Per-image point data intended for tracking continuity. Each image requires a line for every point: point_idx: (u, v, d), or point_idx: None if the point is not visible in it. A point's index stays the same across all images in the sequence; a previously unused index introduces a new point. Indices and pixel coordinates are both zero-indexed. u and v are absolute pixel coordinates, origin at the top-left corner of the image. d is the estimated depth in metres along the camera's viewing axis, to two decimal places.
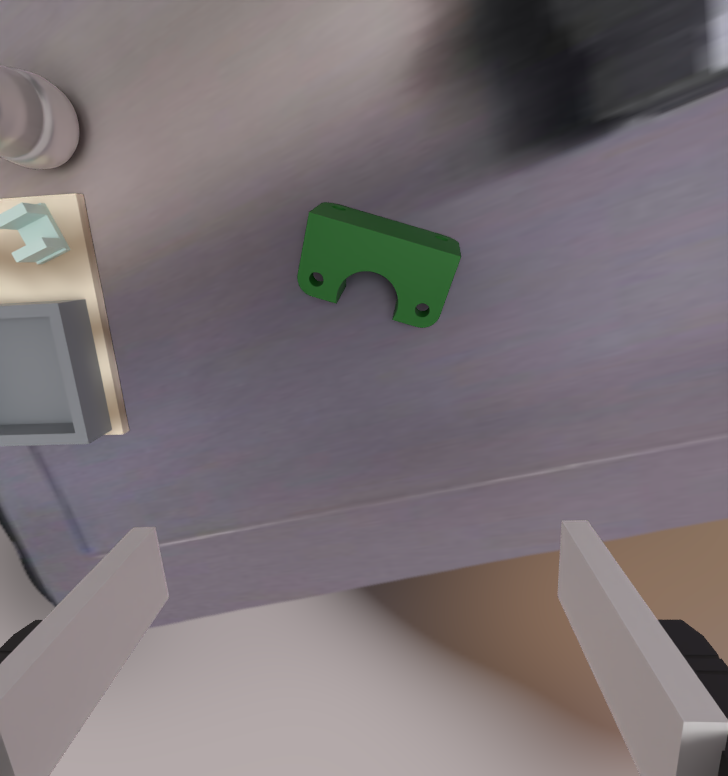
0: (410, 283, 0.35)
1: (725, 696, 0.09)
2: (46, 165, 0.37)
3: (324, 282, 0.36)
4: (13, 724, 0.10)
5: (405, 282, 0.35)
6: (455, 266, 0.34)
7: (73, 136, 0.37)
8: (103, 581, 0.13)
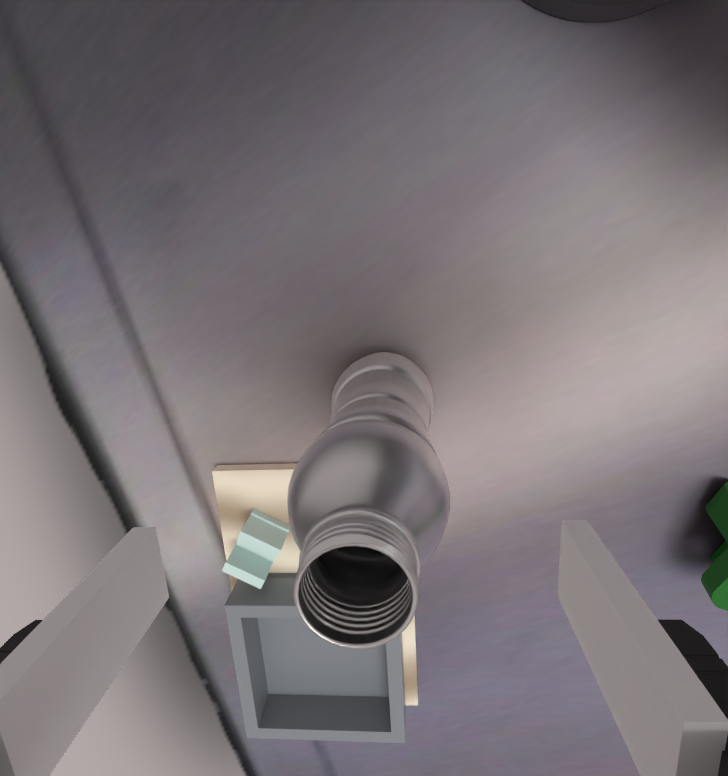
0: None
1: (725, 696, 0.09)
2: None
3: None
4: (13, 724, 0.10)
5: None
6: None
7: None
8: (103, 581, 0.13)
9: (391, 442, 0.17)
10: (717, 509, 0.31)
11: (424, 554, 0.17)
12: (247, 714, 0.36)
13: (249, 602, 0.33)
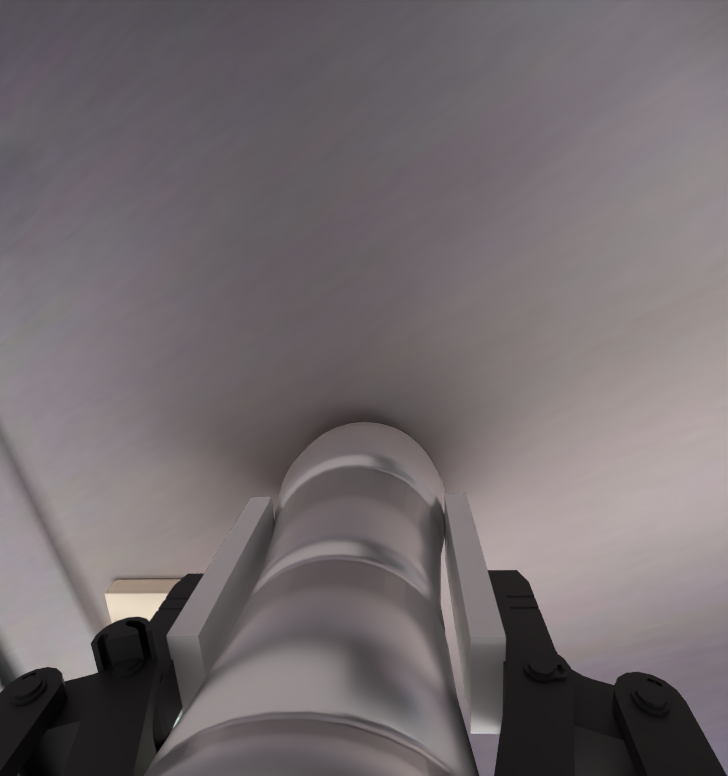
0: None
1: (525, 625, 0.11)
2: None
3: None
4: (207, 652, 0.11)
5: None
6: None
7: None
8: (245, 540, 0.15)
9: None
10: None
11: None
12: None
13: None
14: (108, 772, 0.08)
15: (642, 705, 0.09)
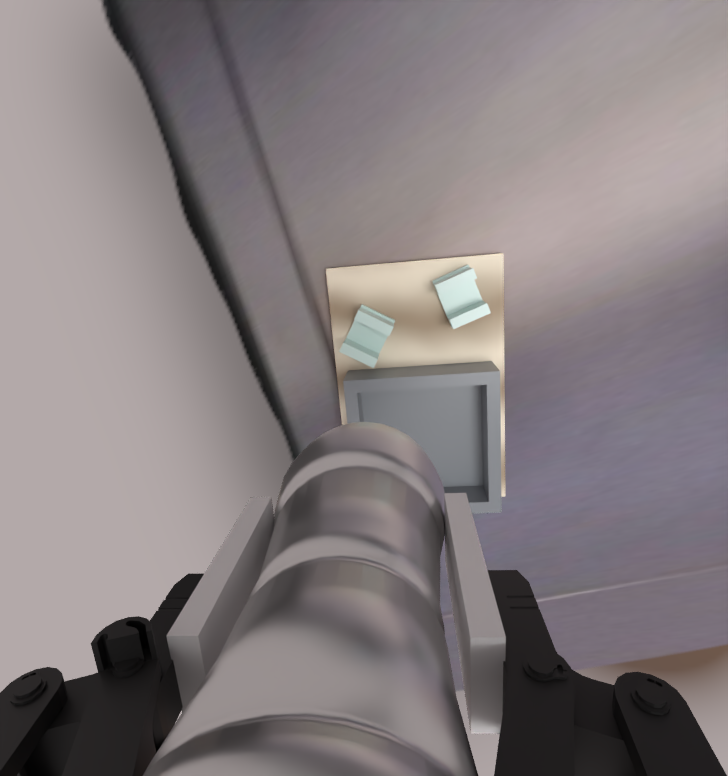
0: None
1: (524, 624, 0.11)
2: None
3: None
4: (207, 652, 0.11)
5: None
6: None
7: None
8: (245, 540, 0.15)
9: None
10: None
11: None
12: None
13: (364, 378, 0.38)
14: (108, 772, 0.08)
15: (643, 705, 0.09)
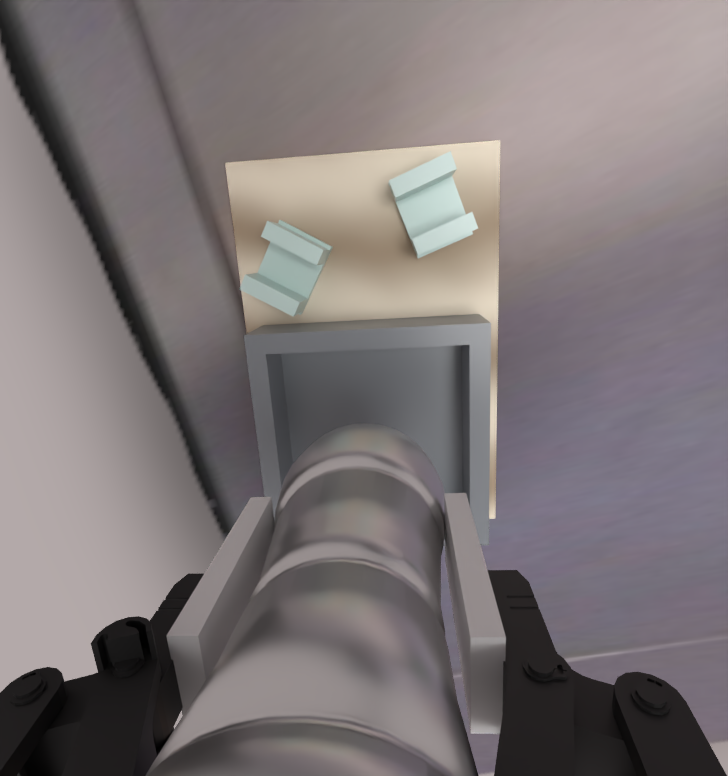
0: None
1: (525, 624, 0.11)
2: None
3: None
4: (207, 652, 0.11)
5: None
6: None
7: None
8: (246, 540, 0.15)
9: None
10: None
11: None
12: None
13: (278, 332, 0.24)
14: (108, 772, 0.08)
15: (643, 705, 0.09)
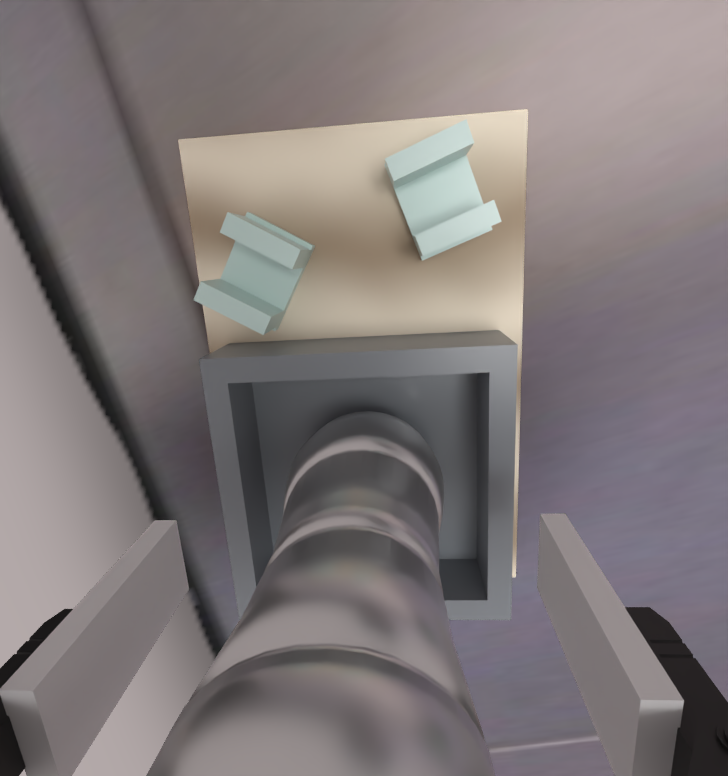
0: None
1: (685, 678, 0.10)
2: None
3: None
4: (51, 706, 0.10)
5: None
6: None
7: None
8: (130, 571, 0.13)
9: (370, 761, 0.07)
10: None
11: None
12: (240, 575, 0.21)
13: (243, 355, 0.19)
14: None
15: None
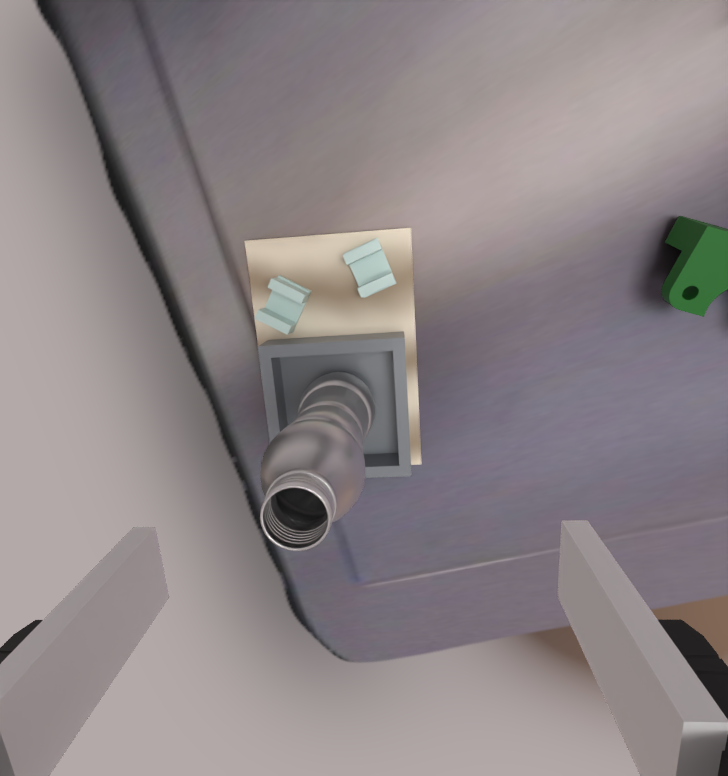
0: None
1: (725, 696, 0.09)
2: None
3: (698, 295, 0.36)
4: (13, 724, 0.10)
5: None
6: None
7: None
8: (103, 581, 0.13)
9: (324, 432, 0.27)
10: (673, 234, 0.38)
11: (345, 502, 0.27)
12: None
13: (278, 344, 0.39)
14: None
15: None
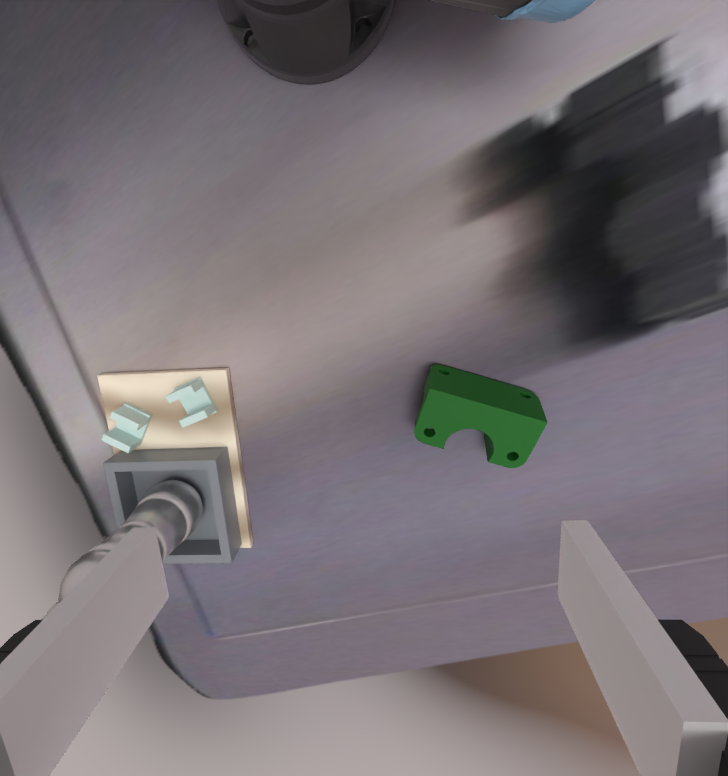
0: (505, 438, 0.45)
1: (725, 696, 0.09)
2: None
3: (435, 434, 0.46)
4: (13, 724, 0.10)
5: (501, 437, 0.45)
6: (542, 428, 0.44)
7: (200, 518, 0.51)
8: (103, 581, 0.13)
9: None
10: (426, 381, 0.48)
11: None
12: None
13: (120, 461, 0.50)
14: None
15: None
